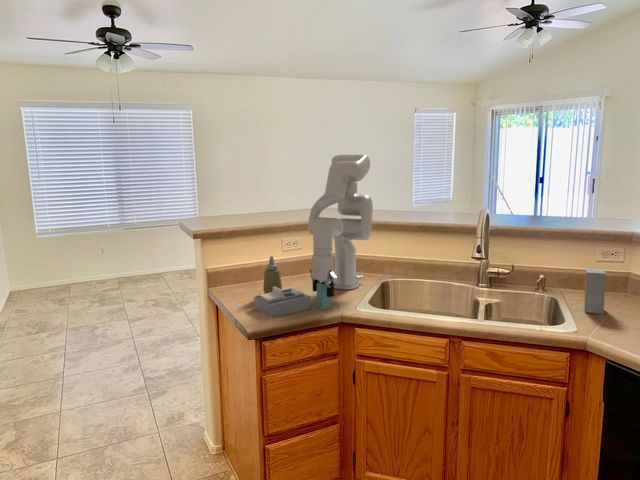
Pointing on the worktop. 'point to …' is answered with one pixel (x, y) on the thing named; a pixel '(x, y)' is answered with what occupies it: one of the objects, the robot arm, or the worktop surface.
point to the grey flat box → (283, 303)
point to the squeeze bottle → (271, 277)
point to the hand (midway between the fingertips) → (323, 293)
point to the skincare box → (595, 291)
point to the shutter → (273, 294)
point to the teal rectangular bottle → (323, 296)
